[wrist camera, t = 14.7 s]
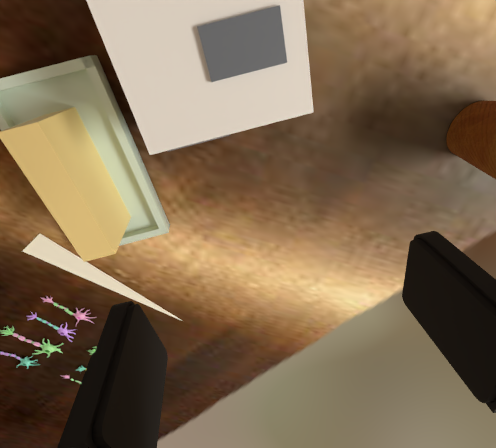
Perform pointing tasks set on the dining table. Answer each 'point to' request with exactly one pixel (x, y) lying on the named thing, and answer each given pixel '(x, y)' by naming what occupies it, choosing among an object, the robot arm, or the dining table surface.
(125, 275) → the dining table surface
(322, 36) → the dining table surface
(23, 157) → the pale yellow paper bar
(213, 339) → the dining table surface
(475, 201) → the dining table surface
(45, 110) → the tray
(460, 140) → the disposable coffee cup
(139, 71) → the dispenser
